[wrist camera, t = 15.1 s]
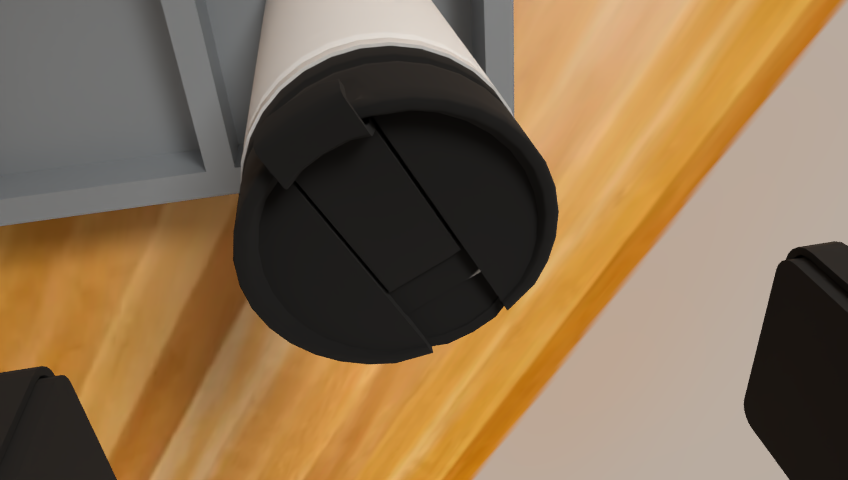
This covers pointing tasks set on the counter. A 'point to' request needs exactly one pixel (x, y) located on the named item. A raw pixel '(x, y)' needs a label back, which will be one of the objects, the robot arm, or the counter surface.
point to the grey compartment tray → (152, 97)
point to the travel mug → (382, 184)
